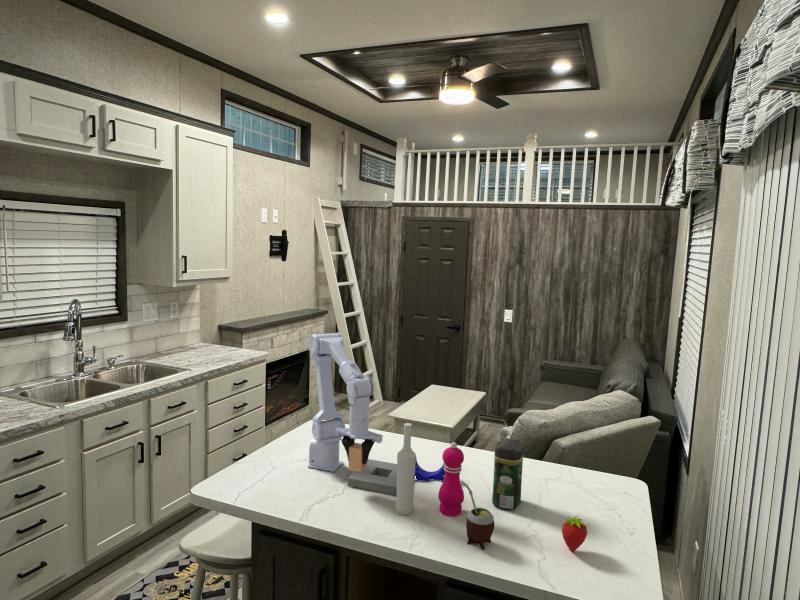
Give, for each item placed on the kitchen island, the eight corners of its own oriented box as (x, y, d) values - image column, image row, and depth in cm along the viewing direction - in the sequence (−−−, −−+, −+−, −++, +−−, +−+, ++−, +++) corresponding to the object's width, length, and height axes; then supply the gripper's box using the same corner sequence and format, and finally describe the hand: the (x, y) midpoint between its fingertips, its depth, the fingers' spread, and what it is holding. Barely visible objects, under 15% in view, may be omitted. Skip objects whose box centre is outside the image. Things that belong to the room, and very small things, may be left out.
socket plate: (347, 485, 165) (347, 478, 165) (367, 466, 180) (367, 458, 180) (396, 495, 160) (397, 487, 160) (412, 474, 175) (413, 466, 175)
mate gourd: (497, 549, 134) (501, 491, 132) (467, 552, 132) (470, 493, 131) (486, 533, 141) (489, 478, 139) (457, 535, 139) (460, 479, 138)
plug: (348, 469, 160) (349, 447, 160) (354, 464, 164) (354, 442, 163) (360, 472, 159) (361, 449, 158) (366, 467, 163) (366, 444, 162)
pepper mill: (446, 519, 147) (449, 448, 145) (432, 507, 153) (435, 439, 151) (468, 514, 150) (472, 445, 148) (454, 503, 157) (457, 436, 155)
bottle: (416, 508, 153) (419, 422, 150) (410, 517, 148) (414, 428, 145) (398, 505, 154) (402, 420, 152) (392, 513, 149) (395, 425, 147)
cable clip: (409, 480, 171) (410, 462, 171) (411, 474, 176) (411, 456, 175) (447, 483, 170) (448, 465, 169) (448, 477, 174) (448, 459, 173)
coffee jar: (496, 493, 164) (499, 434, 162) (522, 499, 161) (526, 438, 159) (488, 507, 155) (492, 444, 153) (516, 513, 152) (520, 450, 150)
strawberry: (588, 548, 136) (591, 510, 135) (581, 562, 129) (584, 523, 128) (564, 540, 139) (567, 503, 138) (556, 554, 132) (559, 515, 131)
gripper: (331, 418, 159) (329, 462, 160) (376, 425, 154) (375, 471, 155) (341, 411, 165) (340, 454, 167) (385, 418, 161) (384, 462, 162)
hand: (357, 462), depth 162 cm, fingers closed on plug, 4 cm apart
